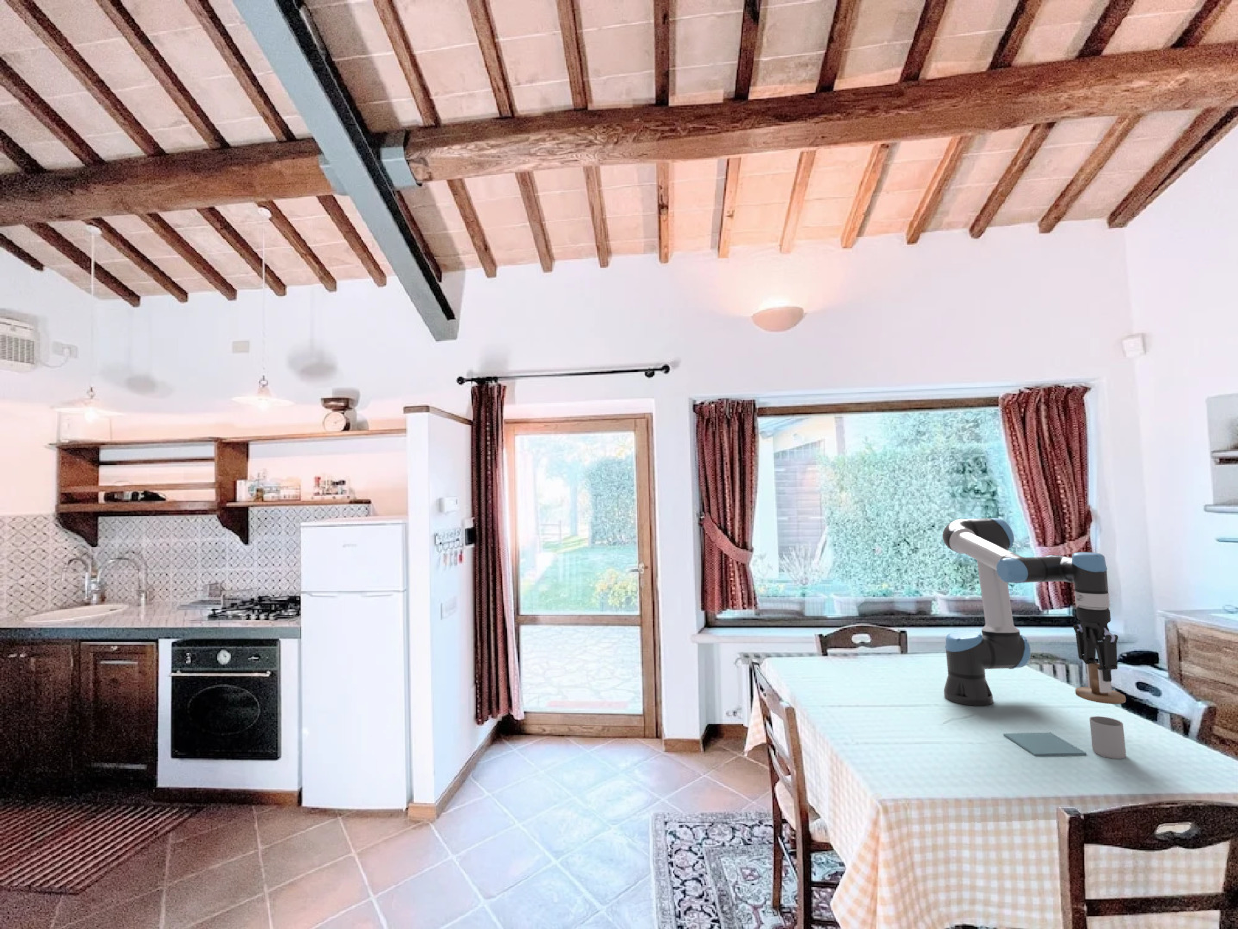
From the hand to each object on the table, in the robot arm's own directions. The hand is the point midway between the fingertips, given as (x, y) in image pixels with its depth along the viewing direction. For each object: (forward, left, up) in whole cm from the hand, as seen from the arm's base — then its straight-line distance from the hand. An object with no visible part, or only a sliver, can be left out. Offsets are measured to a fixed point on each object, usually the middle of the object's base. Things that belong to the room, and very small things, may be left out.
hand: (1099, 689), depth 162 cm
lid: (0, 0, -2) cm, 2 cm away
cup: (0, 0, -17) cm, 17 cm away
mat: (-5, -14, -17) cm, 23 cm away
